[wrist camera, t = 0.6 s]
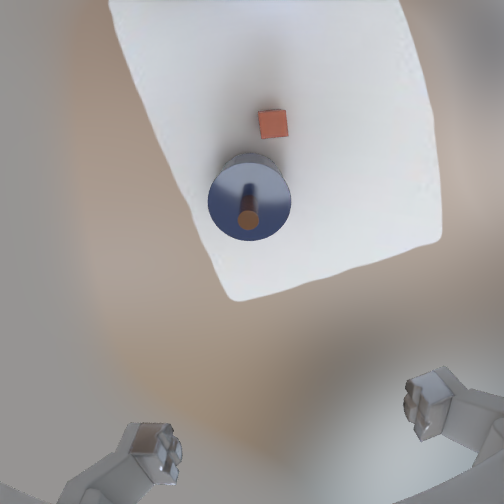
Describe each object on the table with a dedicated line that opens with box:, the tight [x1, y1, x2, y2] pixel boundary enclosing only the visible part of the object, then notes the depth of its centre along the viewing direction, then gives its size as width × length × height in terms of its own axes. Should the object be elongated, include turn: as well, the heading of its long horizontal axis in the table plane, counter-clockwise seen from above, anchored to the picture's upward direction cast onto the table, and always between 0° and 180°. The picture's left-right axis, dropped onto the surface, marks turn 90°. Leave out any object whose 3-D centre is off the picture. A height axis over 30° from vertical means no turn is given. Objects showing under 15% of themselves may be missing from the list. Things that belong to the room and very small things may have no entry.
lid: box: [208, 162, 291, 241], centre depth 44 cm, size 13×13×8 cm
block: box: [258, 109, 288, 139], centre depth 46 cm, size 4×4×10 cm
